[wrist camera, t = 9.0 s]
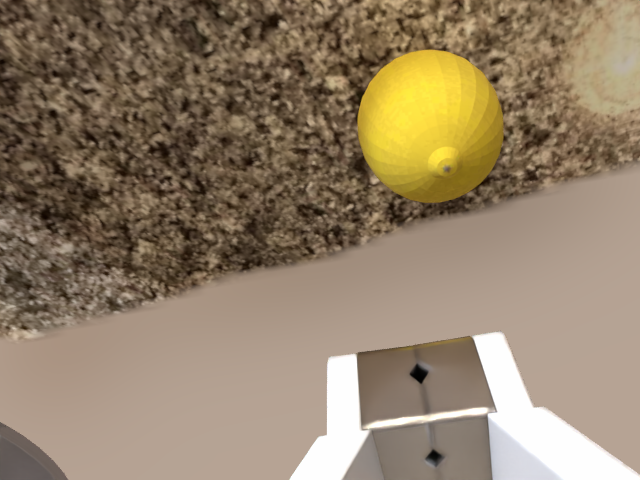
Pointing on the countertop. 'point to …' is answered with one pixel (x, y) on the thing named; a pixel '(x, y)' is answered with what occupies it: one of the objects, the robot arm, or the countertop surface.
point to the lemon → (430, 126)
